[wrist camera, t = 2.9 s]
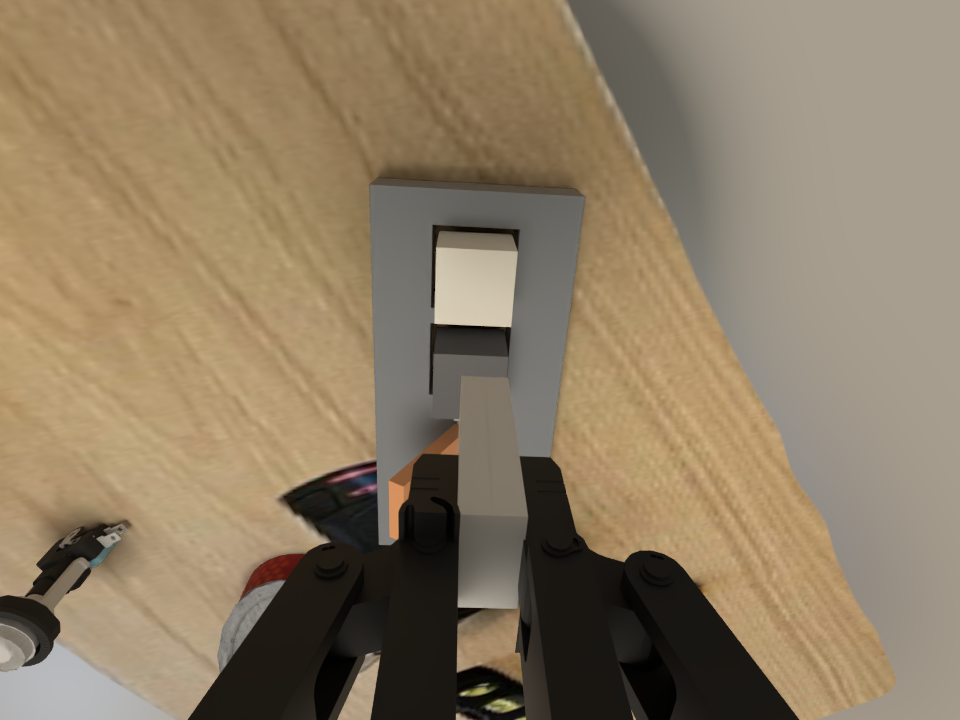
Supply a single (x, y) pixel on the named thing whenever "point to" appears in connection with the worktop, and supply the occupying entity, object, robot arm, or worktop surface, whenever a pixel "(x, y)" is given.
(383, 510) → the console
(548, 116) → the worktop surface
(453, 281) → the ivory button
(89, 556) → the push button
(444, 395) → the dark gray button
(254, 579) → the canned food
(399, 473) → the paddle lever
